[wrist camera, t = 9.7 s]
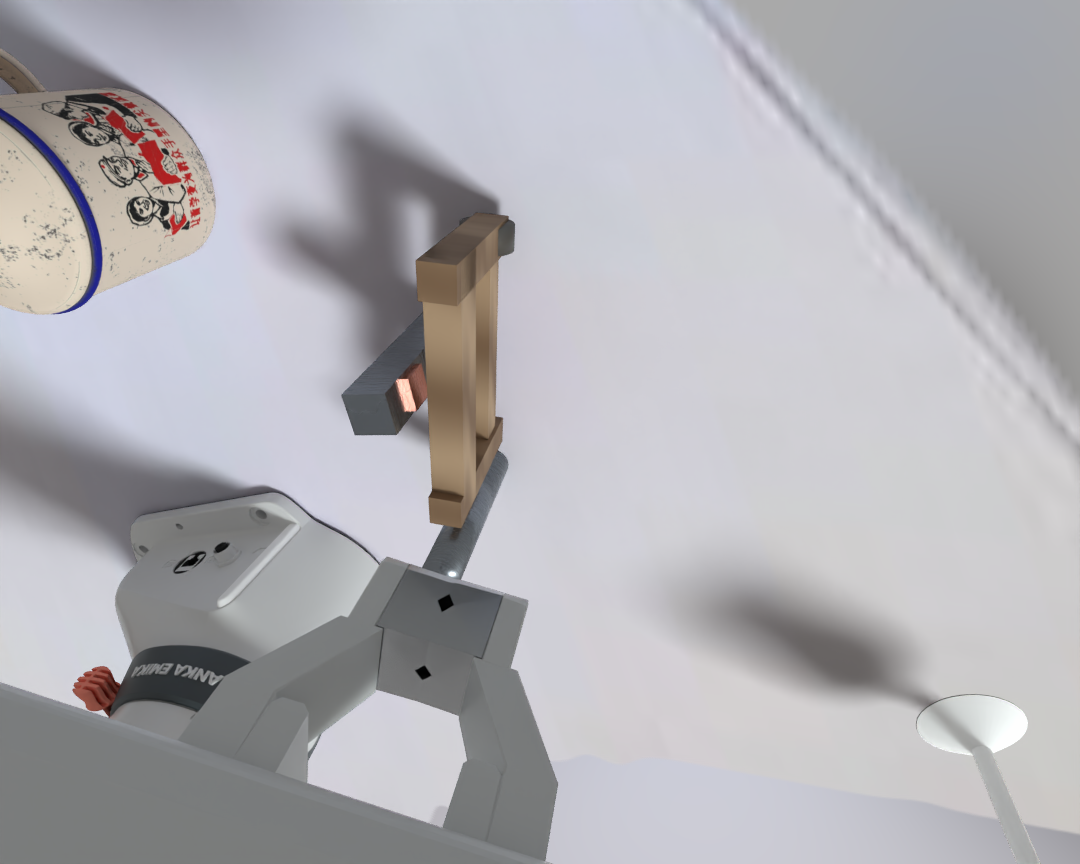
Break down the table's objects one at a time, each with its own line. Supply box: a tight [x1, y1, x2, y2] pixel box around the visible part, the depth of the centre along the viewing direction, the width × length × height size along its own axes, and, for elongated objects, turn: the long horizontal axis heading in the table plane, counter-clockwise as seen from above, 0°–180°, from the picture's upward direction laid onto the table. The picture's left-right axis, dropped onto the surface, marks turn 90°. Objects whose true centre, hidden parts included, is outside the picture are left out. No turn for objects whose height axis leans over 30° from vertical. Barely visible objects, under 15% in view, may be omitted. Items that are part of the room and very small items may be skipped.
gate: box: [416, 212, 515, 528], centre depth 30 cm, size 13×3×8 cm, turn 177°
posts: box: [342, 313, 508, 580], centre depth 32 cm, size 3×11×10 cm, turn 8°
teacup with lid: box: [0, 48, 216, 315], centre depth 28 cm, size 12×9×12 cm
